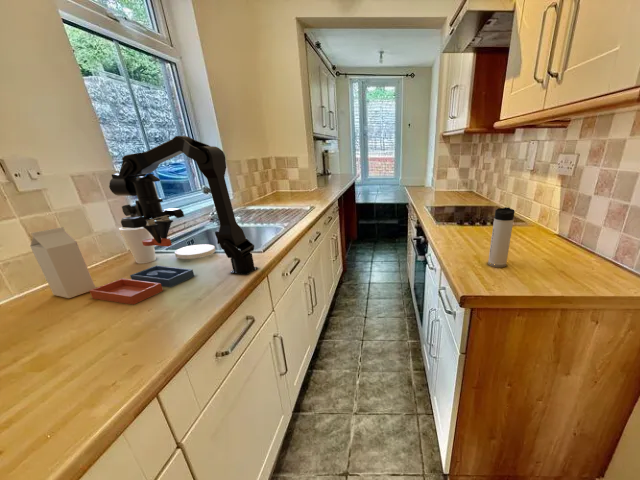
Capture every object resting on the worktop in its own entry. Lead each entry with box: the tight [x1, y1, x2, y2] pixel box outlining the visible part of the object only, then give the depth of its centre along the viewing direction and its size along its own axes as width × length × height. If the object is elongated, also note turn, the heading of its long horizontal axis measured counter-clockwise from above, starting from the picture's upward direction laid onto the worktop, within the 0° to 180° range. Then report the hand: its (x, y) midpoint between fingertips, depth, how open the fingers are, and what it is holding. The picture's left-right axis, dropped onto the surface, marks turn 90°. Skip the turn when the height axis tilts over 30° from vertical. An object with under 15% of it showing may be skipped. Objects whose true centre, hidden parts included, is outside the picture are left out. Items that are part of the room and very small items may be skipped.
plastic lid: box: [174, 243, 216, 260], centre depth 126 cm, size 14×14×2 cm
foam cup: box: [118, 226, 157, 264], centre depth 119 cm, size 10×9×13 cm
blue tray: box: [129, 265, 195, 288], centre depth 104 cm, size 15×9×2 cm, turn 75°
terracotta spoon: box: [142, 237, 173, 247], centre depth 111 cm, size 11×5×2 cm, turn 74°
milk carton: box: [29, 226, 97, 299], centre depth 91 cm, size 7×7×19 cm
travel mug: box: [487, 206, 516, 269], centre depth 111 cm, size 6×7×20 cm
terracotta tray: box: [89, 277, 164, 305], centre depth 93 cm, size 15×9×2 cm, turn 75°
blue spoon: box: [147, 270, 178, 279], centre depth 103 cm, size 11×5×2 cm, turn 75°
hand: (162, 242), depth 110 cm, fingers closed on terracotta spoon, 2 cm apart
